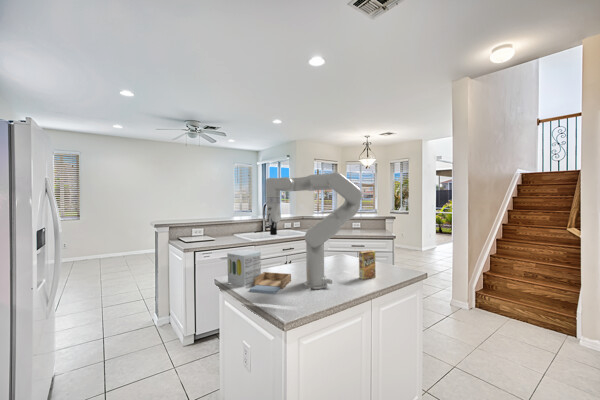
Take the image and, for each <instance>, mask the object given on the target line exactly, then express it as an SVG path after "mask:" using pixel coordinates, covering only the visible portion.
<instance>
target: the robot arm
mask: <svg viewBox="0 0 600 400" xmlns="http://www.w3.org/2000/svg"><path fill="white" fill-rule="evenodd" d="M330 190H333V191H335V192H336V193H337V194H338V195H340V196H341V197H342V198H343V199H344V201H343V203H342V204H341V205H340V206H339V207H338V208H336V209H335V210H334V211H332V212H331V213H329V214H328V215H326V216H324V218H323V219H322V220H320V222H318V223H316V224H315V225H313V226H310V227H309V228H308V229H307V230H306V232H305V235H304V241H305V247H306V249H305V254H306V255H305V258H306V259H305V260H306V261H305V262H306V269H305V270H306V272H305V273H306V280H305V281H304V282H303V285H304V286H306V287H309V288H311V290H321V289H325V288H327V287H328V284H329V285H333V280H332V279H330V278H327V276H326V275H325V243H326V242H327V241H329V240H330V239H331V238H334V236H335V235H336V234H338V233H339V231H340V230H341V228H342V226H343V225H345V224H346V223H347V222H349V221H350V220H351V219H353V217H354V216H356V215H357V213H358V212H359V209H360V207H361V200H362V198H363V192H362V190H361V188H359V187H358V186H357V185H356V184H354V183H353V182H352V181H350V180H349V179H348V178H347V177H345V176H344V175H343V174H342V173H341V172H337V171H334V172H332V173H320V174H319V173H317V174H315V173H314V174H310V175H307V176H300V177H289V176H288V177H287V176H285V177H284V176H283V177H268V178H266V179H265V204H266V210H265V211H266V213H265V214H266V219H265V220H266V222H267V223H268V225H269V235H270V236H276V235H278V222H280V221H281V220H282V217H281V216H282V214H281V213H282V212H281V192H301V191H303V192H304V191H310V192H312V191H313V192H314V191H330Z"/></svg>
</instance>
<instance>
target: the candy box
mask: <svg viewBox="0 0 600 400" xmlns="http://www.w3.org/2000/svg"><path fill="white" fill-rule="evenodd" d="M358 272H359V273H358V275H359V277H358V278H359V279H361V280H366V279H375V278H376V277H377V275H376V251H375V250H371V249H370V250H365V251H364V250H362V251H358Z"/></svg>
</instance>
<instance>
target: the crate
mask: <svg viewBox="0 0 600 400" xmlns="http://www.w3.org/2000/svg"><path fill="white" fill-rule="evenodd" d="M291 281H292V273H286V272H285V273H283V272H272V271H271V272H269V271H268V272H267V271H264V272H261V274H260V275H259V276H258V277H256V278H255V279H254V283H253V287H254V286H256V285H262V286H274V287H281V289H280V290H283V289H285V287H286V286H287V285H288V284H289V283H291Z"/></svg>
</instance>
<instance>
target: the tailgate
mask: <svg viewBox="0 0 600 400" xmlns="http://www.w3.org/2000/svg"><path fill="white" fill-rule="evenodd" d="M280 290H282V289H281V287H274V286H262V285H256V286H254V285H253V287H251V288H249V292H251V293H262V294H271V295H272V294H274V295H276V293H278V292H279V291H280Z"/></svg>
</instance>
